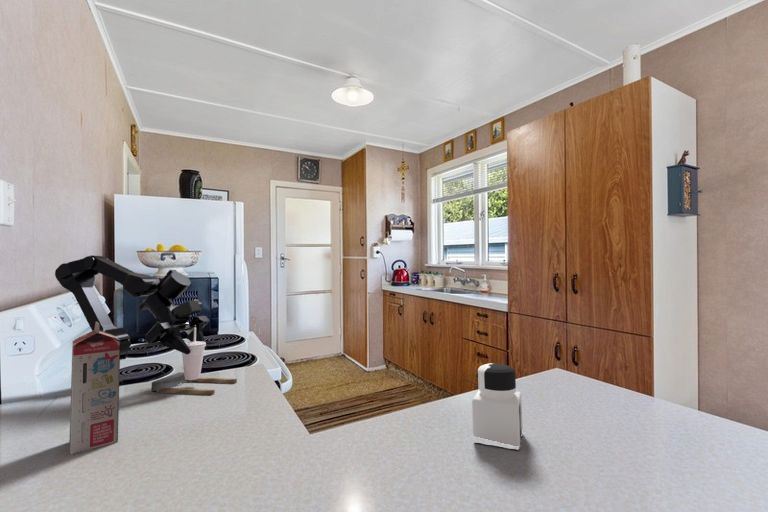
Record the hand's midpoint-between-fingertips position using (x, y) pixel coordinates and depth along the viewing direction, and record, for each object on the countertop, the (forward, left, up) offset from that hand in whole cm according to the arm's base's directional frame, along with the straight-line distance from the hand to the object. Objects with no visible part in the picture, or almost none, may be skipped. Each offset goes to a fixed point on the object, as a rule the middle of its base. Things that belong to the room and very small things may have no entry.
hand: (197, 350), depth 99 cm
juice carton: (+19, -27, -10) cm, 34 cm away
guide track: (-1, 0, -10) cm, 10 cm away
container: (+79, +18, -10) cm, 81 cm away
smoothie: (-1, -1, -8) cm, 8 cm away
